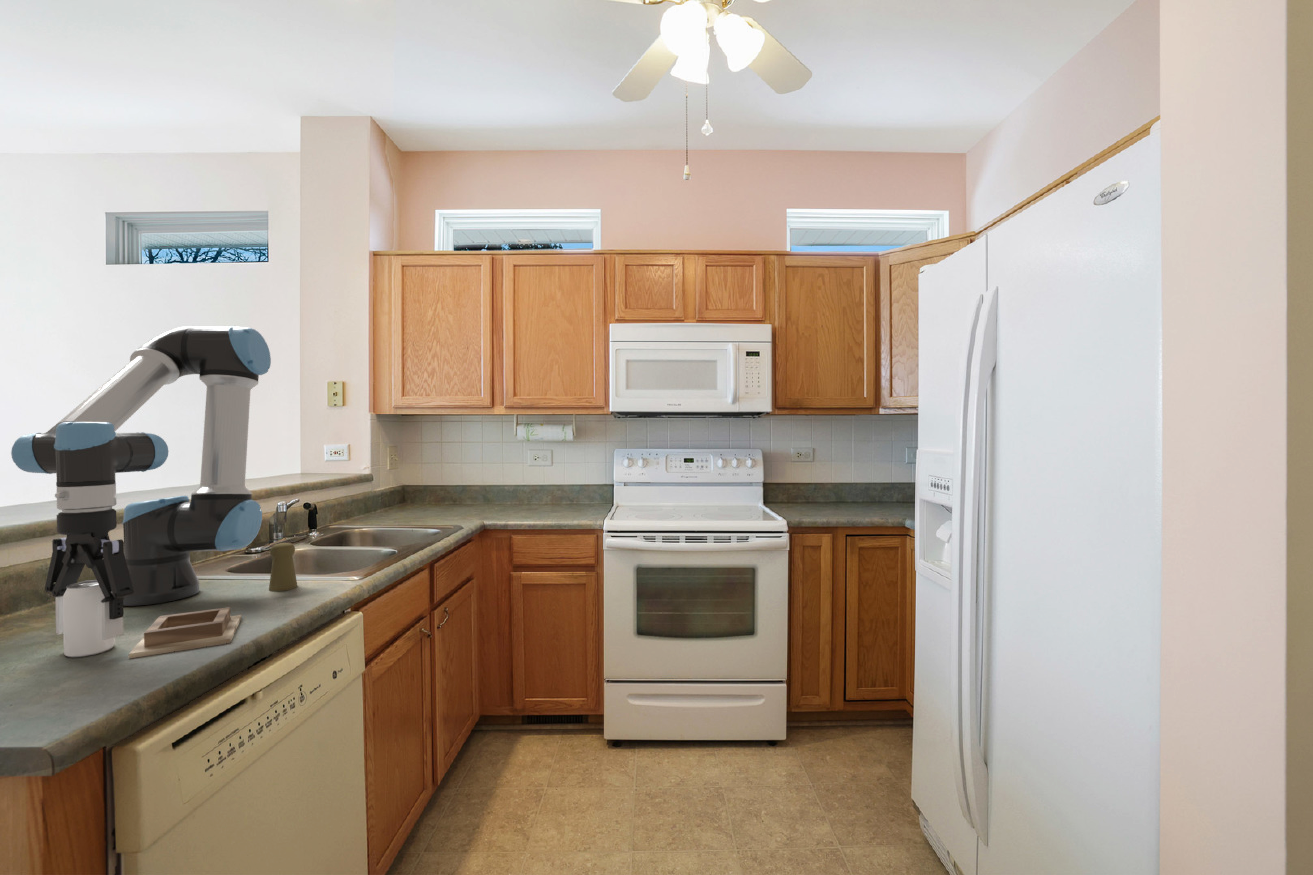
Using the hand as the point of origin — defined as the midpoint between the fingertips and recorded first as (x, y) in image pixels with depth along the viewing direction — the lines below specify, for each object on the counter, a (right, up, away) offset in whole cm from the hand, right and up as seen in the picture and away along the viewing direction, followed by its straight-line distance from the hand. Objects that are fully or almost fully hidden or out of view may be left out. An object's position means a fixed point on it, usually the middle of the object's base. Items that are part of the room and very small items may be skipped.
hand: (89, 634), depth 103 cm
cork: (+8, -3, +41) cm, 42 cm away
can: (0, -3, 0) cm, 3 cm away
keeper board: (+12, -3, +7) cm, 14 cm away
